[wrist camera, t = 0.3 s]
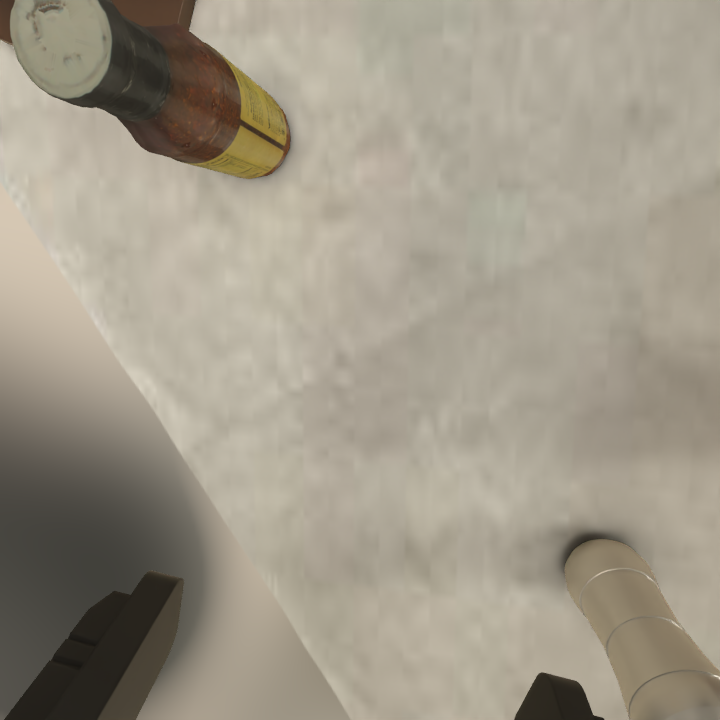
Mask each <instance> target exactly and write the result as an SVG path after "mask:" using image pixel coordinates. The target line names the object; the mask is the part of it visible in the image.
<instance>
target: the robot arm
mask: <svg viewBox="0 0 720 720" xmlns="http://www.w3.org/2000/svg"><path fill="white" fill-rule="evenodd" d="M183 585H184V580H183V579H182V578H179V577H175V576H170V575H167V574H163V573H159V572H155V571H148V572H147V573H146V574H145V575H144V577H143V578H142V580H141V581H140V582H139V584H138V585H137V587H136V588H135V590H134V591H133V593H132V594H131V595H129V594H125V593H121V592H117V591H114V592H112V593H111V594H110V595H108V596H106V597H105V598H104V599H102V600H101V601H100V602H98V603H97V604H95V605H94V606H93V607H91V608H90V609H89V610H88V611H87V612H86V614H85V615H84V616H83V617H82V619H81V620H80V621H79V623H78V624H77V625H76V627H75V628H74V629H73V631H72V632H71V633H70V636H69V638H68V639H66V640H65V641H64V643H63V644H62V645H61V646H60V648H59V649H58V650H57V651H56V653H55V654H54V656H53V658H52V660H51V661H49V662H48V663H47V665H46V666H45V667H44V668H43V670H42V671H41V672H40V674H39V675H38V676H37V678H36V679H35V680H34V681H33V683H32V684H31V685H30V687H29V688H28V689H27V691H26V692H25V693H24V694H23V696H22V697H21V698H20V700H19V701H18V702H17V704H16V705H15V706H14V708H13V709H12V710H11V711H10V713H9V714H8V715H7V717H6V718H5V719H4V720H136V718H137V716H138V714H139V712H140V710H141V708H142V706H143V704H144V702H145V700H146V698H147V696H148V694H149V692H150V690H151V688H152V686H153V685H154V683H155V681H156V679H157V677H158V675H159V673H160V671H161V669H162V667H163V665H164V663H165V661H166V659H167V657H168V655H169V653H170V650H171V647H172V645H173V642H174V639H175V636H176V633H177V628H178V622H179V614H180V607H181V600H182V593H183ZM515 720H604V719H603V718H601V717H597V716H594V715H593V713H592V711H591V708H590V705H589V703H588V700H587V697H586V695H585V692H584V690H583V688H582V686H581V685H580V684H579V683H578V682H577V681H574V680H570V679H566V678H562V677H559V676H555V675H551V674H547V673H539V674H538V676H537V677H536V679H535V681H534V683H533V684H532V686H531V688H530V690H529V692H528V694H527V695H526V697H525V699H524V701H523V703H522V705H521V707H520V708H519V710H518V712H517V714H516V716H515Z"/></svg>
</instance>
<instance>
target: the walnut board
mask: <svg viewBox="0 0 720 720" xmlns="http://www.w3.org/2000/svg"><path fill="white" fill-rule="evenodd" d="M111 1H112V2H113V4H114V5H115V6H116V8H117V9H118V11H119V12H120V14H121V15H123V16H125V17H126V18H127V19H129V20H130V21H133V22H135V23H137V24H139V25H141V26H161V25H171V24H174V23H178V24H179V25H181V26H183V27H184V28H185V29H186V30H189V26H190V22H191V17H192V13H193V9H194V4H195V0H111ZM14 3H15V0H0V40H2V41H4V42H6V43H8V44H11V45H13V42H12V39H11V35H10V16H11V10H12V8H13V6H14Z"/></svg>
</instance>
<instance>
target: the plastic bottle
mask: <svg viewBox="0 0 720 720" xmlns="http://www.w3.org/2000/svg"><path fill="white" fill-rule="evenodd" d="M564 573H565V579H566V583H567V588H568V591H569V593H570V596H571V597H572V599H573V600H574V602H575V603H576V605H577V606H578V608H579V609H580V610H581V612H582V613H583V614H584V615H585V617H586V618H587V619H588V621H589V623H590V624H591V626H592V628H593V629H594V631H595V633H596V634H597V636H598V638H599V640H600V641H601V643H602V645H603V646H604V648H605V651H606V653H607V656H608V658H609V660H610V663H611V665H612V668H613V670H614V673H615V675H616V678H617V680H618V683H619V686H620V690H621V693H622V696H623V699H624V703H625V706H626V709H627V712H628V716H629V719H630V720H720V671H719V670H718V669H717V668H716V667H715V666H714V665H713V664H712V662H711V661H710V660H709V659H708V658H707V657H706V656H705V655H704V654H703V653H702V651H701V650H700V649H699V648H698V646H697V645H696V644H695V642H694V641H693V640H692V639H691V637H690V636H689V635H688V634H687V633H686V631H685V630H684V628H683V627H682V626H681V625H680V623H679V622H678V621H677V619H676V617H675V615H674V614H673V612H672V610H671V609H670V607H669V605H668V603H667V602H666V600H665V598H664V597H663V595H662V593H661V591H660V588H659V586H658V583H657V581H656V578H655V576H654V574H653V572H652V571H651V569H650V567H649V565H648V564H647V562H646V561H645V560H644V559H643V558H642V557H641V556H640V555H638V554H637V553H636V552H635V551H634V550H633V549H632V548H631V547H629V546H627V545H626V544H624V543H621V542H618V541H614V540H608V539H595V540H590V541H587V542H585V543H583V544H581V545H579V546H578V547H576V548H575V549H574V550H573V551H572V553H571V554H570V556H569V558H568V559H567V561H566V564H565V571H564Z"/></svg>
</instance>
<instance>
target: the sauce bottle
mask: <svg viewBox="0 0 720 720" xmlns="http://www.w3.org/2000/svg"><path fill="white" fill-rule="evenodd" d="M10 35H11V39H12V42H13V46H14V49H15V52H16V55H17V58H18V61H19V62H20V64H21V66H22V67H23V69H24V70H25V72H26V73H27V75H28V76H29V77H30V79H31V80H32V81H33V82H34V83H35V84H36V85H37V86H38V87H39V88H41V89H42V90H44V91H45V92H47V93H48V94H49V95H51V96H53V97H56V98H58V99H60V100H63V101H66V102H68V103H70V104H73V105H77V106H80V107H89V108H93V107H97V108H100V109H103V110H105V111H107V112H108V113H110V114H112V115H114V116H116V117H117V118H118V119H119V120H120V121H121V122H122V124H123V125H124V126H125V127H126V128H127V129H128V131H129V132H130V133H131V135H132V136H133V138H134V139H135V141H136V142H137V143H138V144H139V145H140V146H141V147H142V148H144V149H145V150H147V151H149V152H152V153H155V154H160V155H164V156H167V157H171V158H173V159H175V160H177V161H180V162H183V163H187V164H191V165H195V166H199V167H203V168H207V169H210V170H214V171H218V172H222V173H225V174H229V175H233V176H236V177H240V178H246V179H250V178H256V177H260V176H267V175H269V174H271V173H273V172H274V171H275V170H276V169H277V168H278V167H279V166H280V164H281V162H282V161H283V160H284V158H285V156H286V154H287V152H288V150H289V146H290V131H289V127H288V123H287V120H286V116H285V114H284V112H283V110H282V109H281V108H280V107H279V106H278V104H277V103H276V101H275V100H274V99H273V98H272V97H271V96H270V95H269V94H268V93H267V92H266V91H264V90H263V89H262V88H261V87H260V86H258V85H257V84H256V83H255V82H253V81H252V80H251V79H250V78H249V77H247V76H246V75H245V74H244V73H243V72H242V71H240V70H239V69H238V68H237V67H235V66H234V65H233V64H232V63H231V62H229V61H228V60H227V59H226V58H225V57H223V56H222V55H221V54H220V53H219V52H218V51H216V50H215V49H214V48H212V47H211V46H209V45H208V44H206V43H204V42H202V41H201V40H200V39H199V38H197V37H196V36H194V35H193V34H192V33H191V32H189V31H188V30H186V29H185V28H184V27H183V26H181V25H179V24H178V23H174V24H171V25H161V26H141V25H139V24H137V23H135V22H133V21H130V20H129V19H127V18H126V17H125V16H123V15H121V14H120V12H119V11H118V9H117V8H116V6H115V5H114V4H113V2H112V1H111V0H15V3H14V6H13V8H12V10H11V16H10Z"/></svg>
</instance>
